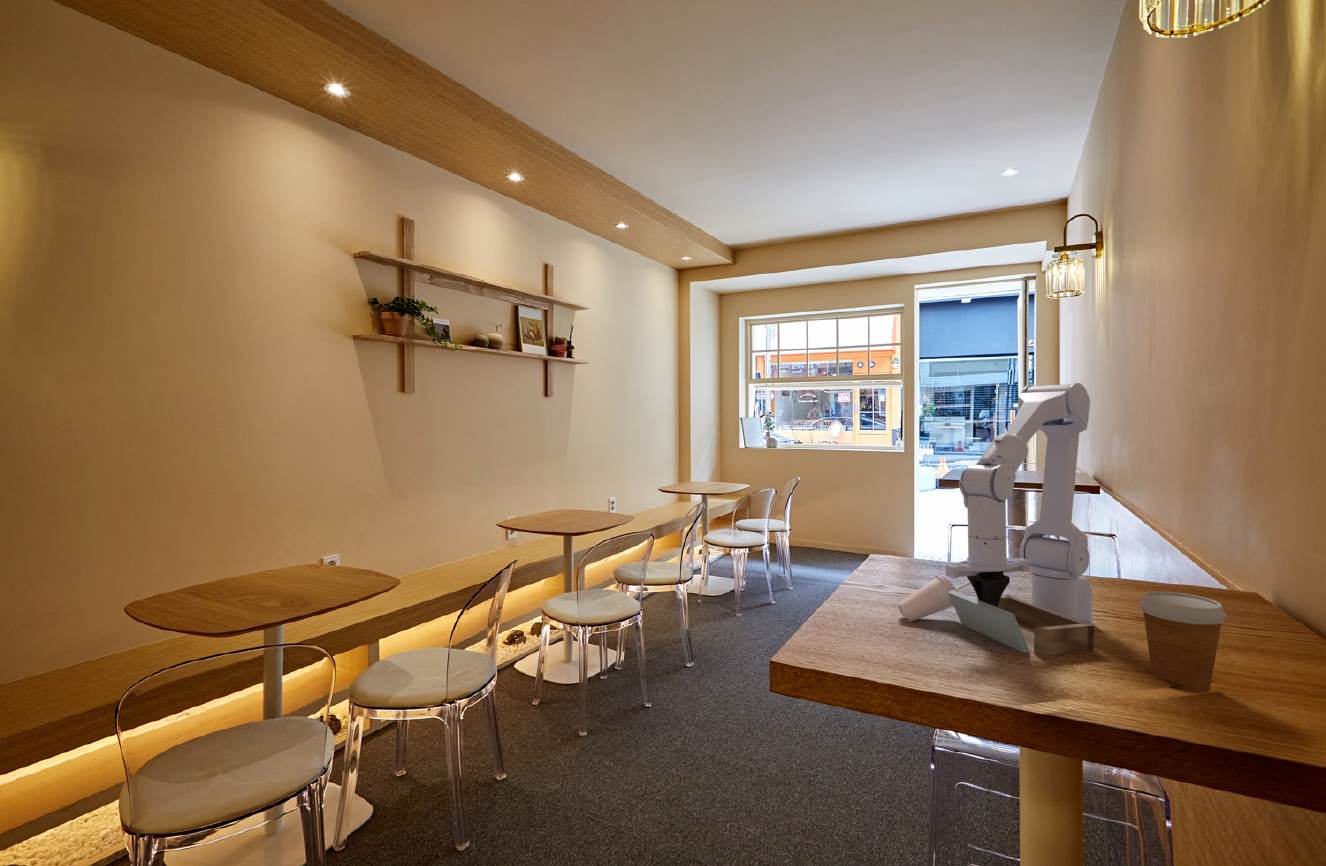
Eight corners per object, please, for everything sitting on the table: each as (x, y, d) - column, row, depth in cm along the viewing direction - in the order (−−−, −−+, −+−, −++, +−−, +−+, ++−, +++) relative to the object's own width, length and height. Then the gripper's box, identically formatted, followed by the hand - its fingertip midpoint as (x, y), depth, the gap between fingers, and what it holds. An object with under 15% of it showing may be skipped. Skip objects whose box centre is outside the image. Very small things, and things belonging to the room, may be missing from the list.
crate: (1008, 621, 116) (1009, 595, 116) (1093, 656, 99) (1093, 625, 99) (962, 625, 114) (962, 598, 114) (1040, 662, 97) (1040, 630, 97)
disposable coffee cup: (1121, 671, 93) (1122, 591, 93) (1181, 669, 94) (1181, 589, 93) (1180, 700, 83) (1180, 610, 83) (1245, 696, 84) (1246, 608, 84)
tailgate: (966, 623, 112) (952, 589, 112) (1029, 652, 98) (1013, 613, 97) (962, 626, 112) (947, 592, 111) (1025, 655, 98) (1008, 616, 97)
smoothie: (918, 631, 111) (987, 595, 112) (899, 597, 112) (967, 562, 113) (906, 627, 117) (972, 593, 118) (889, 595, 119) (953, 562, 119)
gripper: (1006, 529, 110) (1007, 605, 110) (933, 535, 107) (934, 613, 107) (1038, 536, 103) (1039, 617, 103) (961, 542, 100) (963, 626, 100)
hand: (988, 616), depth 105 cm, fingers closed, pressing on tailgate
